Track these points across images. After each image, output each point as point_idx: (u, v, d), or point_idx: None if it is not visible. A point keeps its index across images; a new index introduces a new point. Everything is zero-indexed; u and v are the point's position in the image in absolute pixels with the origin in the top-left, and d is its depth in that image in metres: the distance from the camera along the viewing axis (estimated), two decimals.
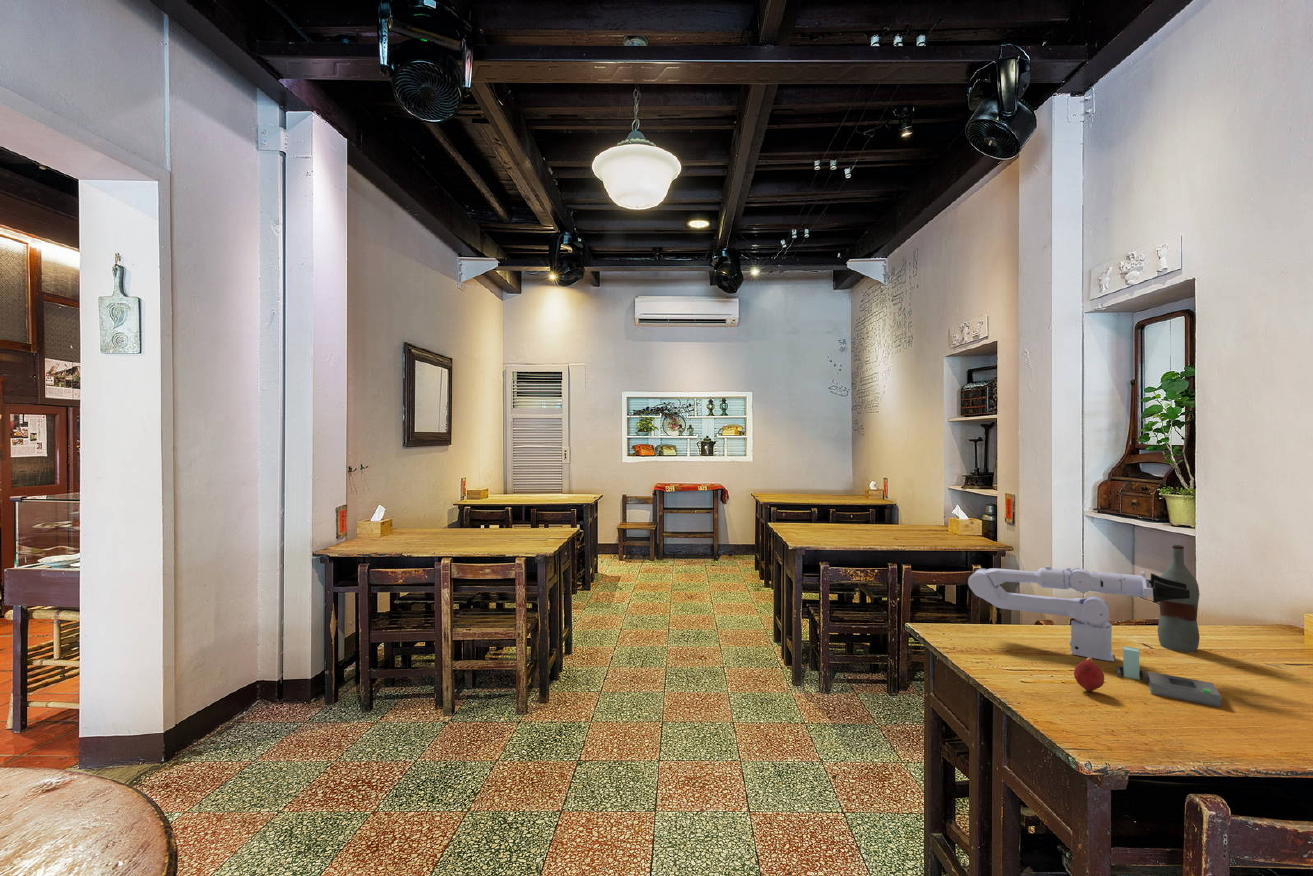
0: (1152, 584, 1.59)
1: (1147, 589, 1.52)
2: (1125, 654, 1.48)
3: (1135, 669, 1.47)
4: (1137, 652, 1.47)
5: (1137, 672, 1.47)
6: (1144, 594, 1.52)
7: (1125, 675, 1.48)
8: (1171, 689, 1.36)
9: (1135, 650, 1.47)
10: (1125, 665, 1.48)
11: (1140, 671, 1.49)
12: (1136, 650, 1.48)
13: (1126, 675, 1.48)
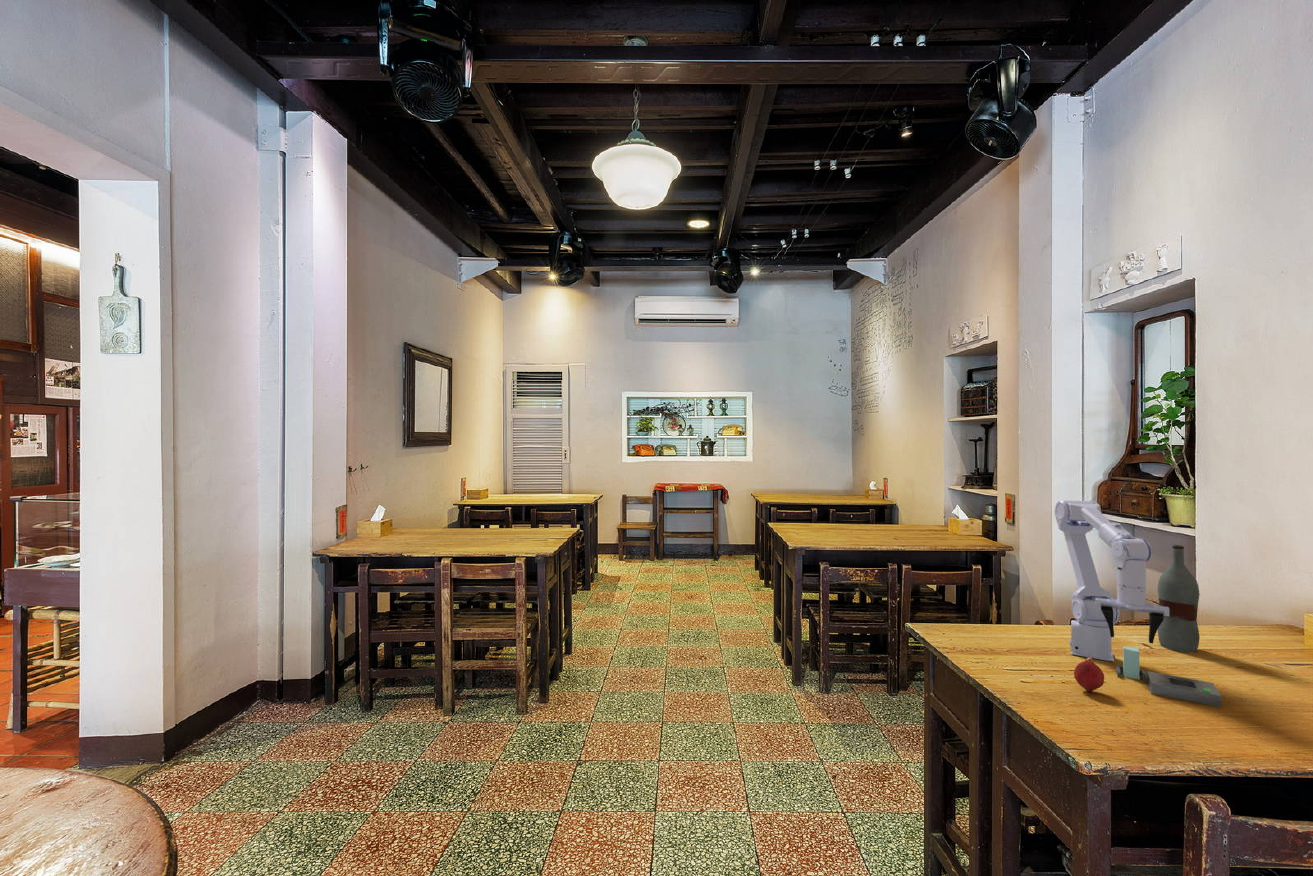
0: (1150, 614, 1.47)
1: (1096, 602, 1.52)
2: (1125, 654, 1.48)
3: (1135, 669, 1.47)
4: (1137, 652, 1.47)
5: (1137, 672, 1.47)
6: (1095, 598, 1.54)
7: (1125, 675, 1.48)
8: (1171, 689, 1.36)
9: (1135, 650, 1.47)
10: (1125, 665, 1.48)
11: (1140, 671, 1.49)
12: (1136, 650, 1.48)
13: (1126, 675, 1.48)
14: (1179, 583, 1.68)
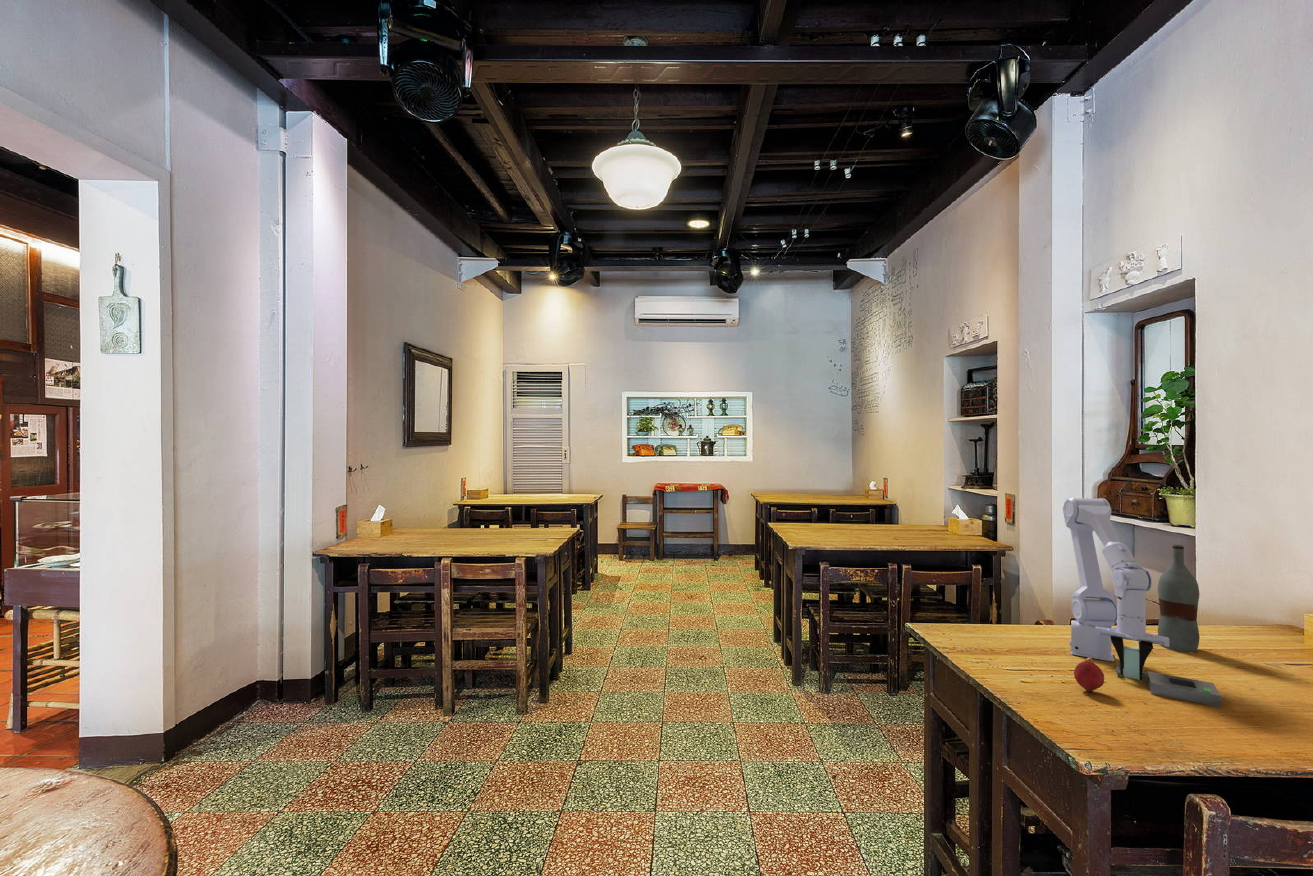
0: (1140, 643, 1.48)
1: (1096, 631, 1.52)
2: (1125, 654, 1.48)
3: (1135, 669, 1.47)
4: (1137, 652, 1.47)
5: (1137, 672, 1.47)
6: (1095, 627, 1.54)
7: (1125, 675, 1.48)
8: (1171, 689, 1.36)
9: (1135, 650, 1.47)
10: (1125, 665, 1.48)
11: (1140, 671, 1.49)
12: (1136, 650, 1.48)
13: (1126, 675, 1.48)
14: (1179, 583, 1.68)
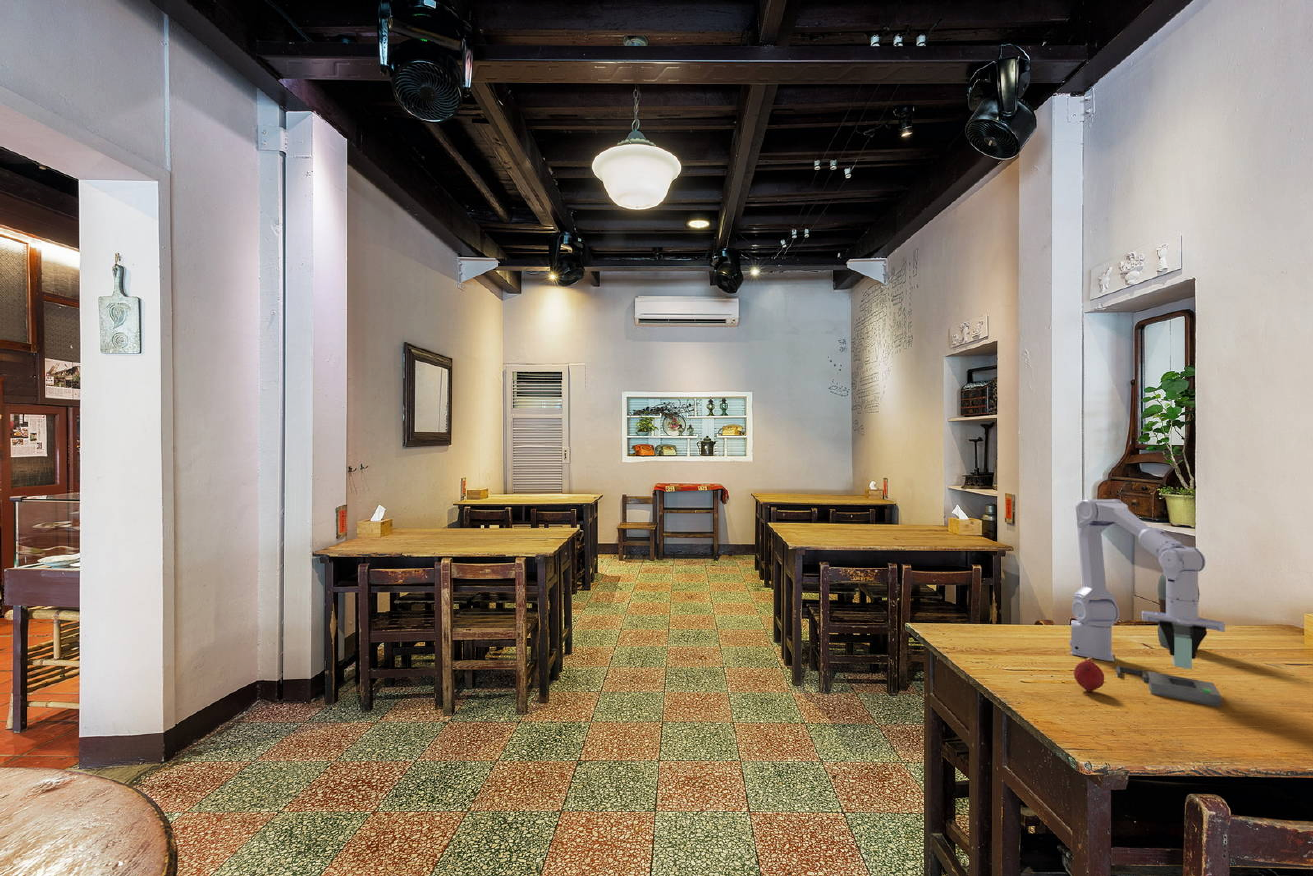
0: (1191, 628, 1.37)
1: (1142, 616, 1.42)
2: (1176, 642, 1.38)
3: (1187, 658, 1.36)
4: (1189, 640, 1.36)
5: (1189, 661, 1.36)
6: None
7: (1176, 664, 1.38)
8: (1171, 689, 1.36)
9: (1187, 638, 1.37)
10: (1176, 654, 1.38)
11: (1140, 671, 1.49)
12: (1188, 638, 1.37)
13: (1177, 664, 1.37)
14: None
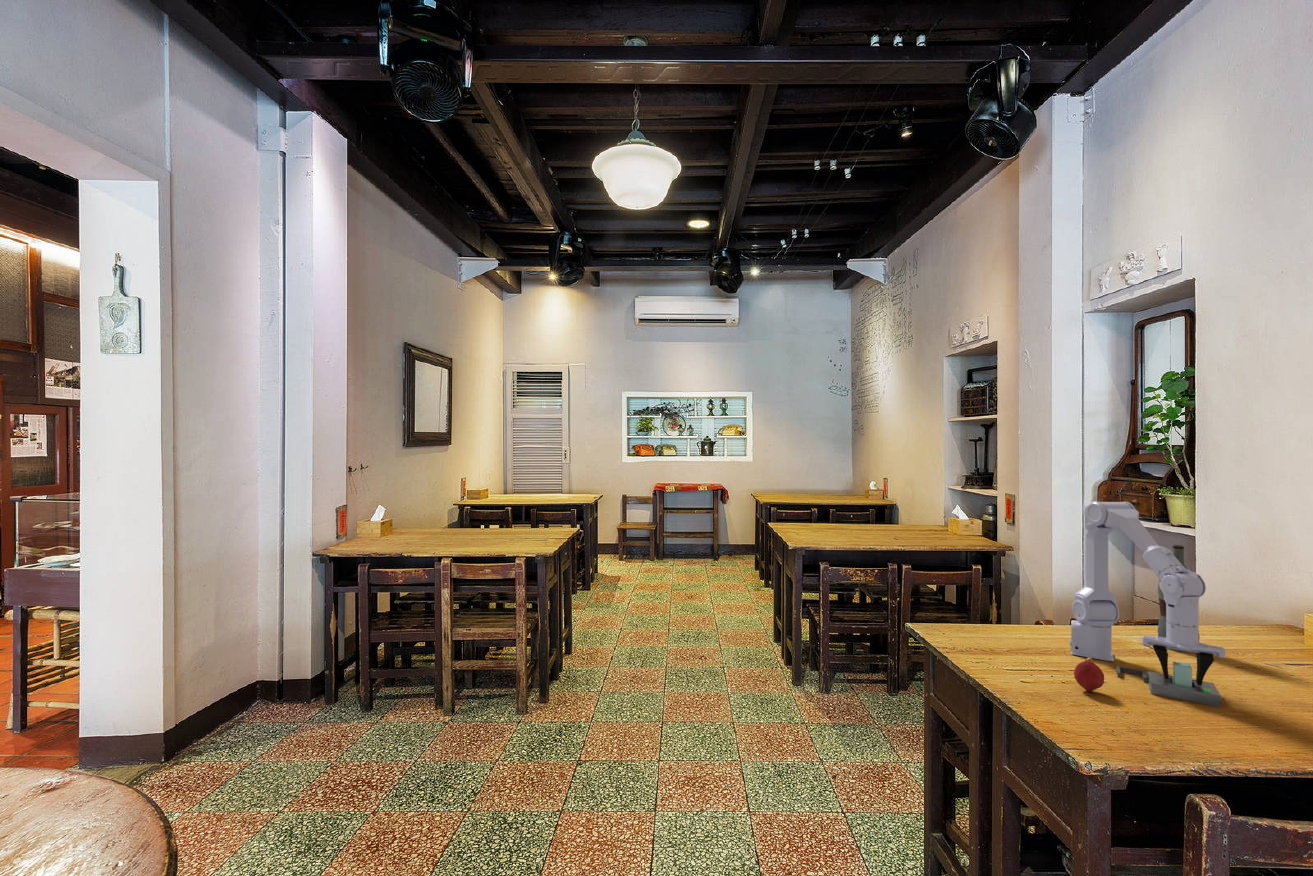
0: (1198, 654, 1.37)
1: (1143, 640, 1.42)
2: (1176, 670, 1.37)
3: (1187, 686, 1.36)
4: (1189, 668, 1.36)
5: None
6: (1142, 636, 1.43)
7: None
8: (1171, 689, 1.36)
9: (1187, 667, 1.37)
10: (1176, 682, 1.37)
11: (1140, 671, 1.49)
12: (1188, 666, 1.37)
13: None
14: None
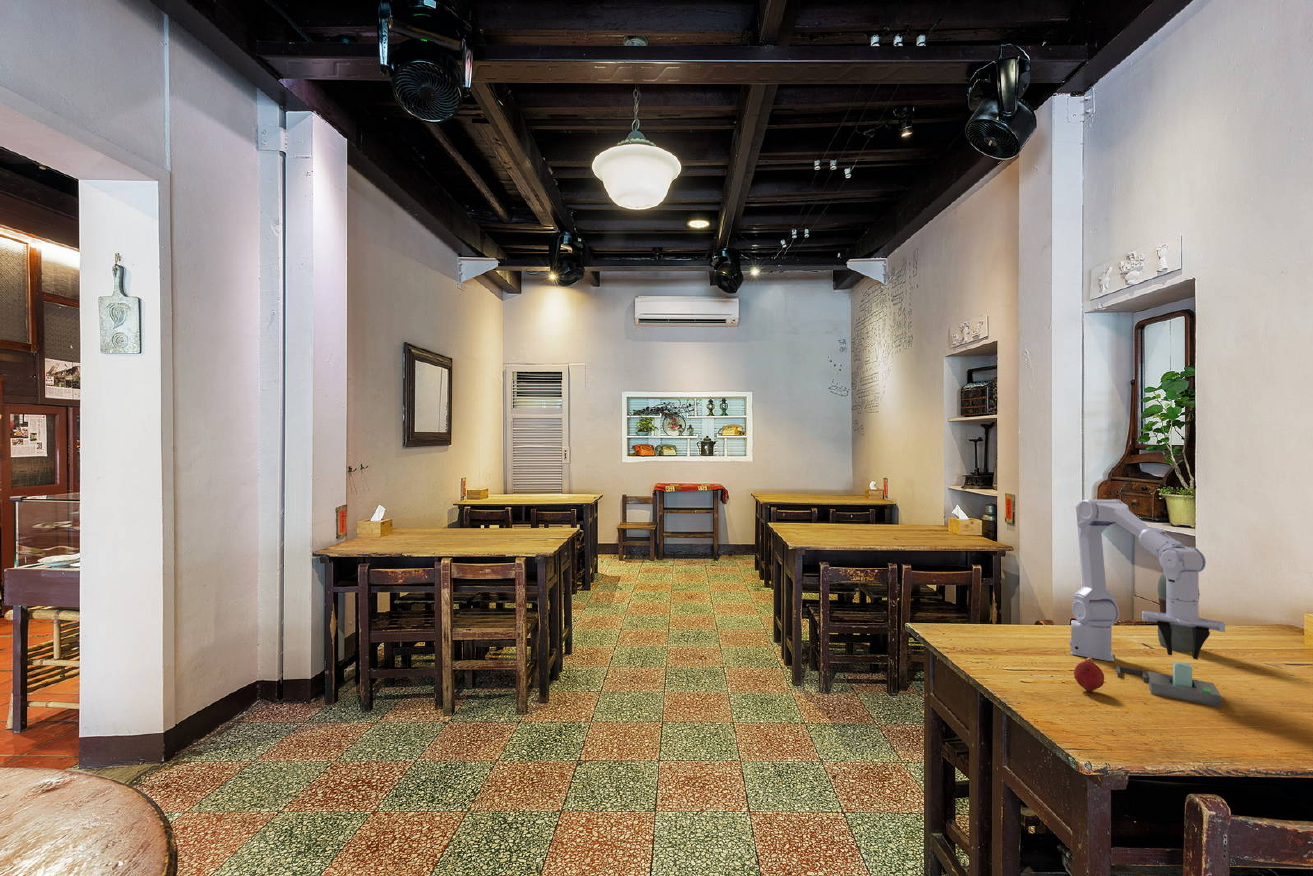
0: (1194, 629, 1.37)
1: (1143, 616, 1.42)
2: (1176, 670, 1.37)
3: (1187, 686, 1.36)
4: (1189, 668, 1.36)
5: None
6: (1142, 612, 1.43)
7: None
8: (1171, 689, 1.36)
9: (1187, 667, 1.37)
10: (1176, 682, 1.37)
11: (1140, 671, 1.49)
12: (1188, 666, 1.37)
13: None
14: None
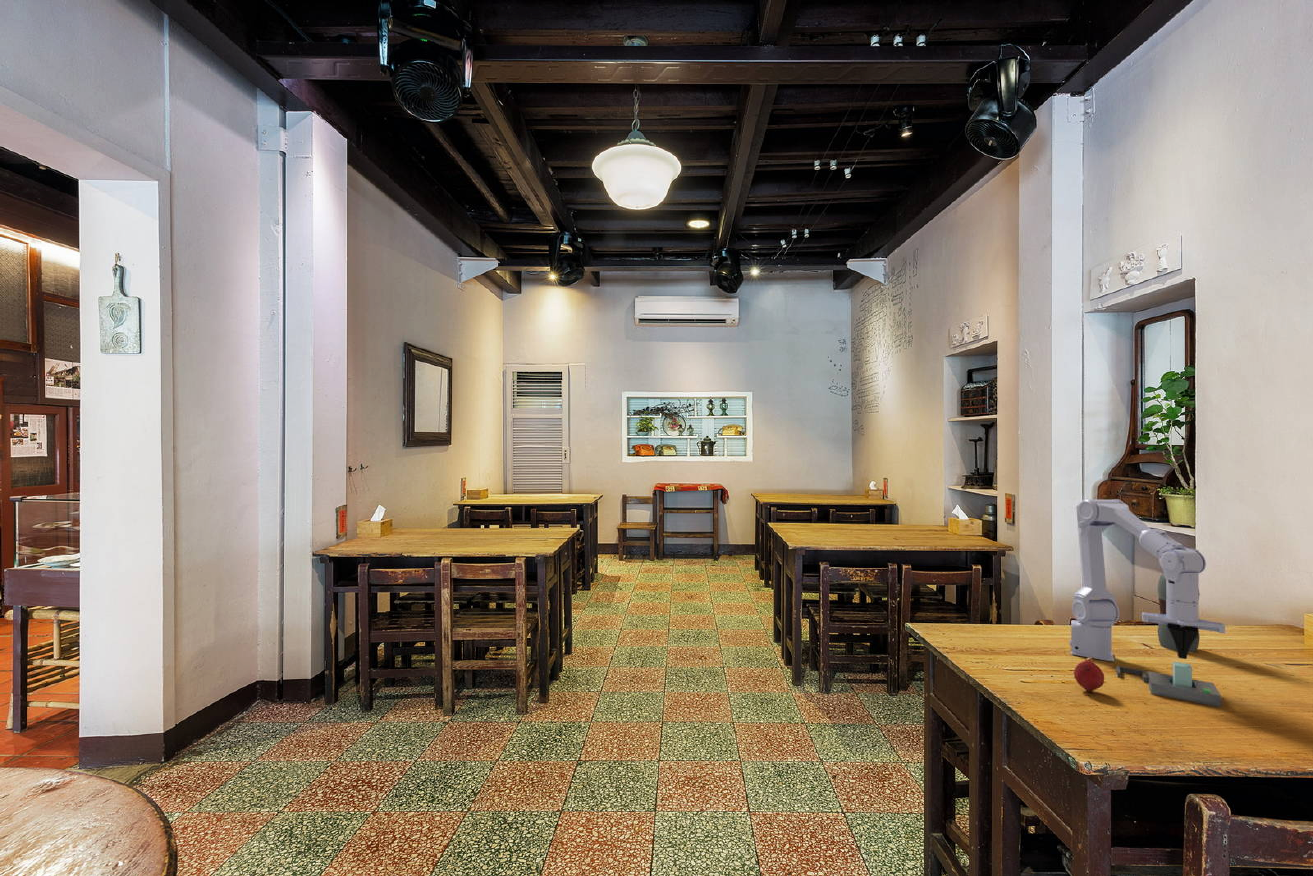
0: (1183, 628, 1.38)
1: (1143, 617, 1.42)
2: (1176, 670, 1.37)
3: (1187, 686, 1.36)
4: (1189, 668, 1.36)
5: None
6: (1142, 613, 1.43)
7: None
8: (1171, 689, 1.36)
9: (1187, 667, 1.37)
10: (1176, 682, 1.37)
11: (1140, 671, 1.49)
12: (1188, 666, 1.37)
13: None
14: None
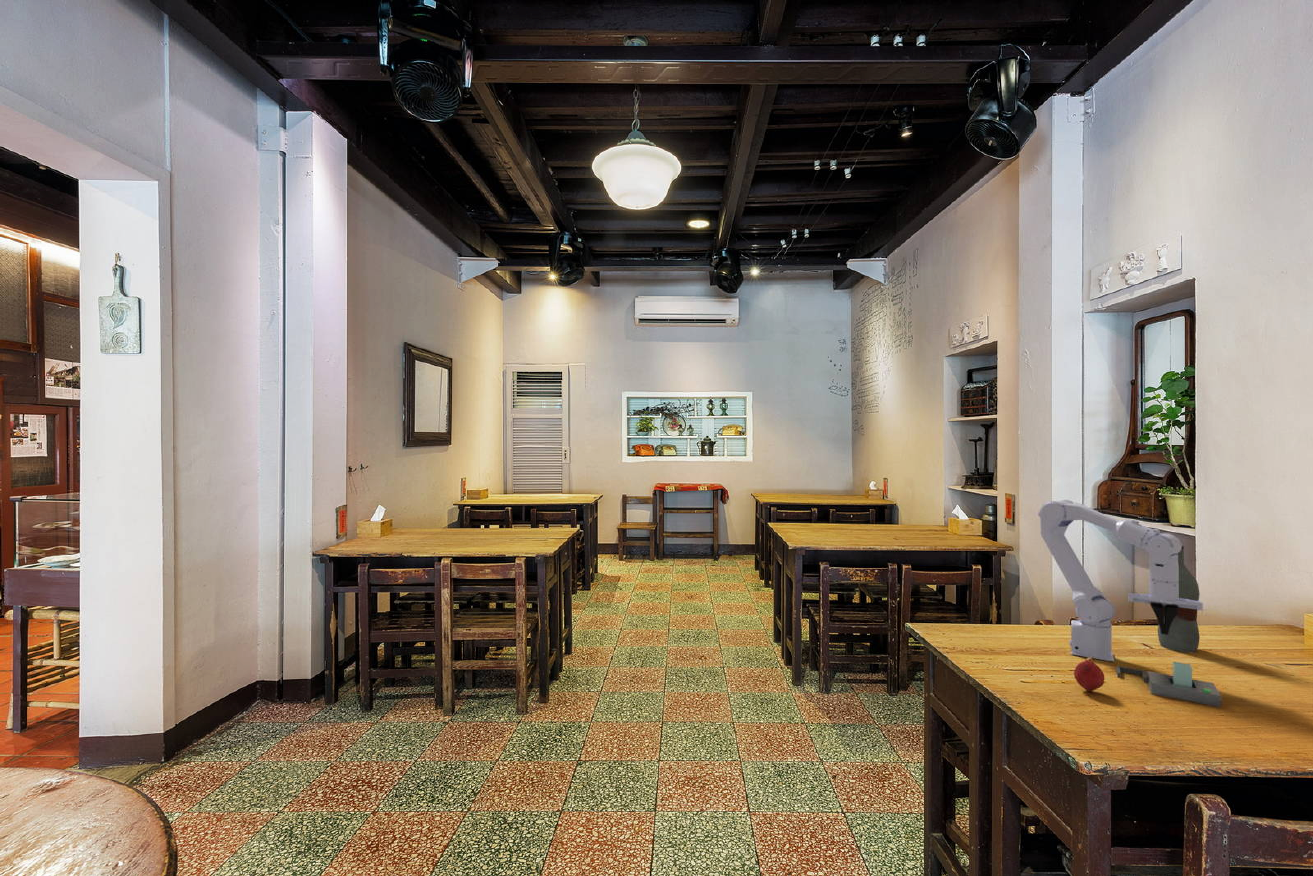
0: (1165, 606, 1.51)
1: (1128, 597, 1.54)
2: (1176, 670, 1.37)
3: (1187, 686, 1.36)
4: (1189, 668, 1.36)
5: None
6: None
7: None
8: (1171, 689, 1.36)
9: (1187, 667, 1.37)
10: (1176, 682, 1.37)
11: (1140, 671, 1.49)
12: (1188, 666, 1.37)
13: None
14: (1179, 583, 1.68)
